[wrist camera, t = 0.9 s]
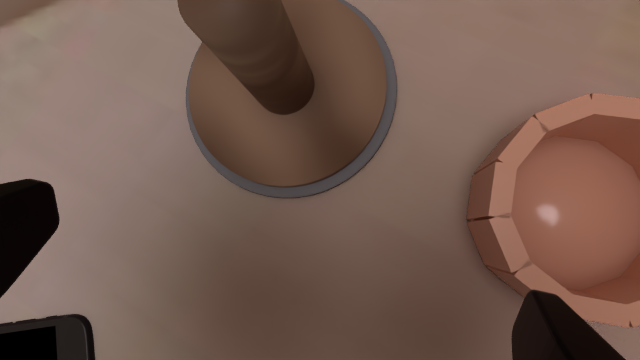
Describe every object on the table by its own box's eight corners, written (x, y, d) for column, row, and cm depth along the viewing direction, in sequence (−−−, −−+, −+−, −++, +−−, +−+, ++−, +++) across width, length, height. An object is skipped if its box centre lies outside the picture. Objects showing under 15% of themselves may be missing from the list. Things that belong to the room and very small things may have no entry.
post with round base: (299, 228, 22) (239, 225, 13) (157, 107, 24) (14, 26, 15) (428, 71, 22) (462, -46, 13) (277, -38, 24) (211, -211, 15)
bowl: (582, 344, 20) (639, 374, 16) (432, 223, 22) (445, 221, 17) (700, 199, 20) (790, 190, 16) (542, 89, 22) (584, 52, 17)
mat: (301, 242, 22) (300, 243, 22) (149, 111, 24) (145, 109, 24) (441, 72, 22) (442, 70, 22) (278, -45, 24) (276, -50, 24)
